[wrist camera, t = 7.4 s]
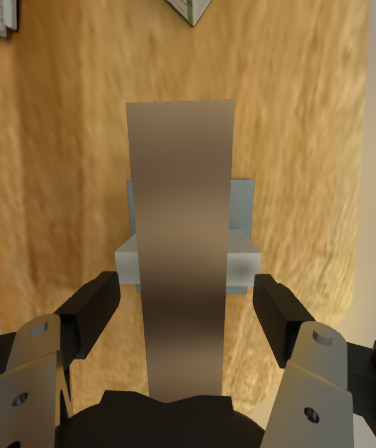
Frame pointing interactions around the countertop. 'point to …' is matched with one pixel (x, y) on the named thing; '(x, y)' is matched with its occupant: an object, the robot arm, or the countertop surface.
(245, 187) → the board
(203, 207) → the walnut bar
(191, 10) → the syrup box
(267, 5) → the countertop surface
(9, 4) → the light grey flat bar
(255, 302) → the robot arm
